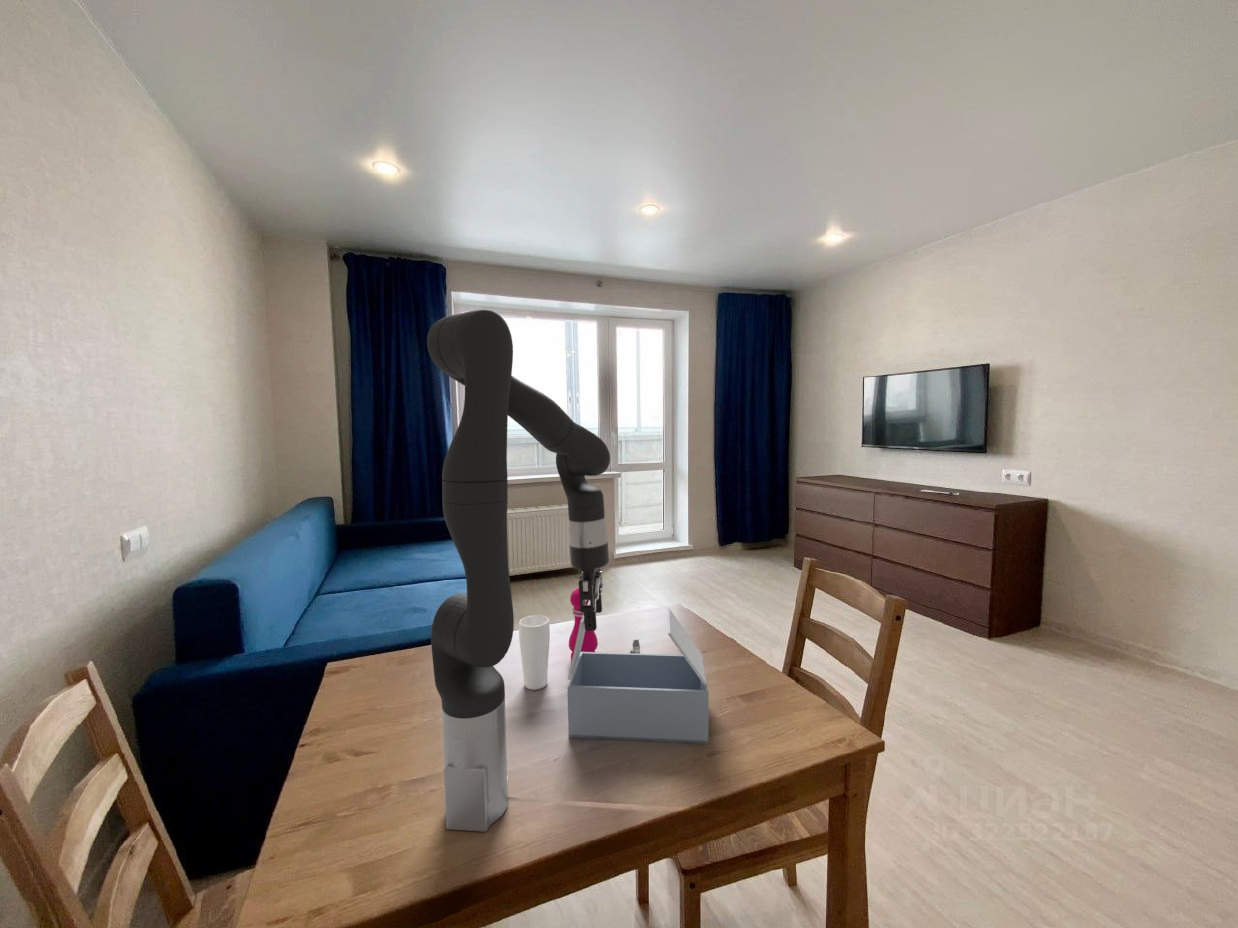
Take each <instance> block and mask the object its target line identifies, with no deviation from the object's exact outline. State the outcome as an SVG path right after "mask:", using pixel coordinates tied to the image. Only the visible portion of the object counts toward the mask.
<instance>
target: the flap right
mask: <svg viewBox="0 0 1238 928" xmlns="http://www.w3.org/2000/svg"><path fill="white" fill-rule="evenodd" d="M666 612H667V613H666V614H667V619H666V620H667V635H668V637H669V638H670V639H671V641H672V642H673V644H674V645H675V647H676V648H677V649H678V651H679V652H680V654H681V655H683V656H684V657H685V659H686V660H687V662H688V663H689V664H690V666H691V667H692V669H693V670H694V671H695V673H696V674H697V676H698V677H699V678H700V680H701V681H702V683H703V684H704V685H706V684H707V685H708V682H707V683H706V680H707V677H705V674H706V670H705V671H704V668H705V665H704V666H703V663H704V659H703V660H702V657H703V655H702V652H701V651H700V649H699V648H698V646H697V645H696V643H695V641H693V639H692V638H691V637H690V635H689V634H688V633H687V631H686V630H685V627H684V626H682V624H681V623H680V621H679V620H678V619H677V617H676V616H675V614H674V613H673V611H672V610H671V609H670V608H667V609H666Z"/></svg>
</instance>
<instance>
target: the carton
mask: <svg viewBox="0 0 1238 928" xmlns="http://www.w3.org/2000/svg"><path fill="white" fill-rule="evenodd" d="M702 660H703V661H704V656H702ZM703 666H704V671H705V672H706V669H705V664H704V662H703ZM705 677H706V673H705ZM706 678H707V677H706ZM706 683H707V684H706V685H704V684H703V683H702V681H701V680H700V678H699V677H698V676H697V674H696V673H695V671H694V670H693V669H692V667H691V666H690V664H689V663H688V662H687V660H686V659H685V657H684V656H683V655H682V654H666V653H665V654H664V653H663V654H662V653H640V654H635V653H630V652H627V653H626V652H599V651H598V652H596V651H595V652H580V655H579V657H578V660H577V663H576V666H575V669H574V672H573V674H572V677H571V680H569V682H568V685H567V719H568V720H567V721H568V725H567V726H568V727H567V728H568V730H567V731H568V739H586V740H587V739H588V740H610V741H611V740H612V741H629V742H630V741H631V742H650V743H653V742H655V743H673V744H674V743H675V744H692V745H693V744H695V745H696V744H697V745H709V721H710V720H709V717H710V716H709V710H710V709H709V708H710V707H709V704H710V703H709V696H710V694H709V693H710V692H709V687H708V682H707V679H706Z"/></svg>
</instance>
